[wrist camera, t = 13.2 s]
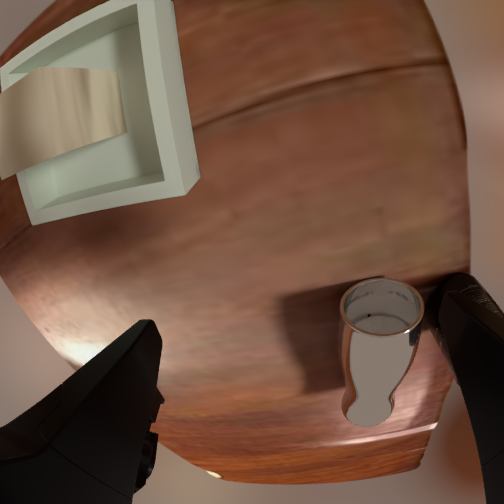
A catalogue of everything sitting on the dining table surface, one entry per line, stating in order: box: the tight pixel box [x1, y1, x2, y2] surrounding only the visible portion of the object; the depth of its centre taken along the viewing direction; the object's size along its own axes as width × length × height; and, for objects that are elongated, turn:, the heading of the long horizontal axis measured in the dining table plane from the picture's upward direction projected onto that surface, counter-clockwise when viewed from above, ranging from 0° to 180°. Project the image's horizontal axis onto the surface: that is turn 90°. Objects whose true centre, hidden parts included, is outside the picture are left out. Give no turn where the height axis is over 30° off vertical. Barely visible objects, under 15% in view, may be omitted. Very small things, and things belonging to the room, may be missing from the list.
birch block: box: [0, 67, 128, 180], centre depth 13 cm, size 4×4×8 cm
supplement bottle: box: [425, 274, 504, 386], centre depth 18 cm, size 7×7×12 cm
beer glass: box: [338, 278, 424, 427], centre depth 23 cm, size 7×7×15 cm
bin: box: [0, 0, 200, 226], centre depth 15 cm, size 13×13×4 cm
